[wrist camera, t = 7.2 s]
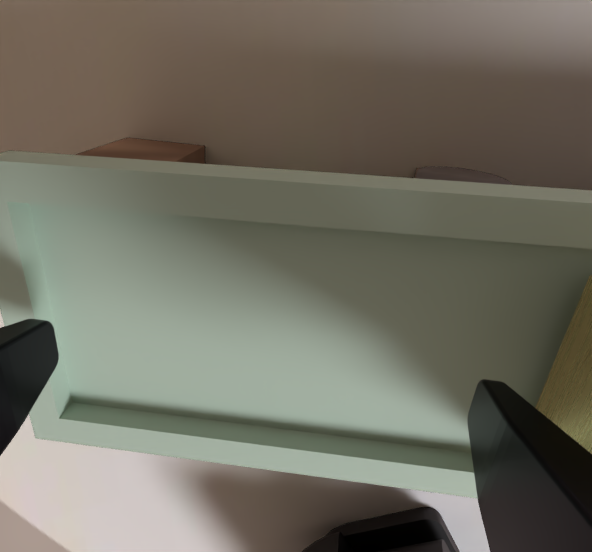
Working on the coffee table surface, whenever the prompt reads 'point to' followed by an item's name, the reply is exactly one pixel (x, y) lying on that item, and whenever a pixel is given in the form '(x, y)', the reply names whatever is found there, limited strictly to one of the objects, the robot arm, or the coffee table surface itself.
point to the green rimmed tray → (286, 309)
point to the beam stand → (196, 154)
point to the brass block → (573, 377)
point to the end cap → (390, 534)
